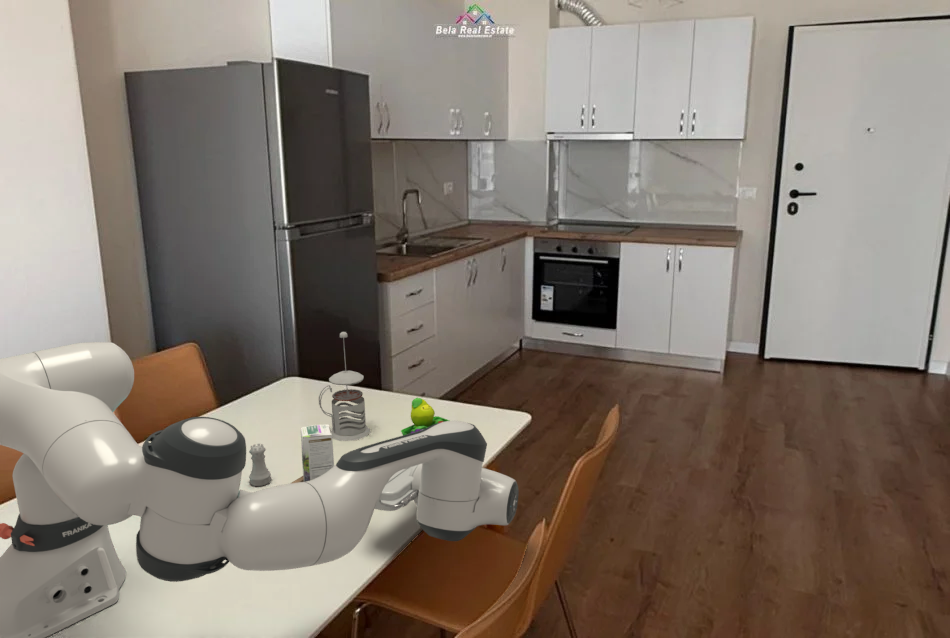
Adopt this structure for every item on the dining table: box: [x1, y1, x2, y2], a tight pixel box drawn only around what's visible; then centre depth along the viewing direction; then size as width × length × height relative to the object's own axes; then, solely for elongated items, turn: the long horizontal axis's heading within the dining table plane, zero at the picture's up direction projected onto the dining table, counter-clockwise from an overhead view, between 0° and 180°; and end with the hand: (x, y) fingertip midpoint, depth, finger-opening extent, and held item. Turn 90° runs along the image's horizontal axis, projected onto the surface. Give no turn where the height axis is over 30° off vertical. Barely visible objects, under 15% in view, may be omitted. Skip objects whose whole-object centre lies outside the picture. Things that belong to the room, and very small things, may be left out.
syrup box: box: [300, 424, 335, 482], centre depth 139 cm, size 6×6×14 cm
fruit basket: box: [400, 397, 451, 436], centre depth 162 cm, size 11×9×11 cm
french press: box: [318, 331, 371, 442], centre depth 169 cm, size 10×12×25 cm
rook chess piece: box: [248, 443, 272, 487], centre depth 147 cm, size 4×4×8 cm
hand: (369, 466), depth 133 cm, fingers open, 8 cm apart
